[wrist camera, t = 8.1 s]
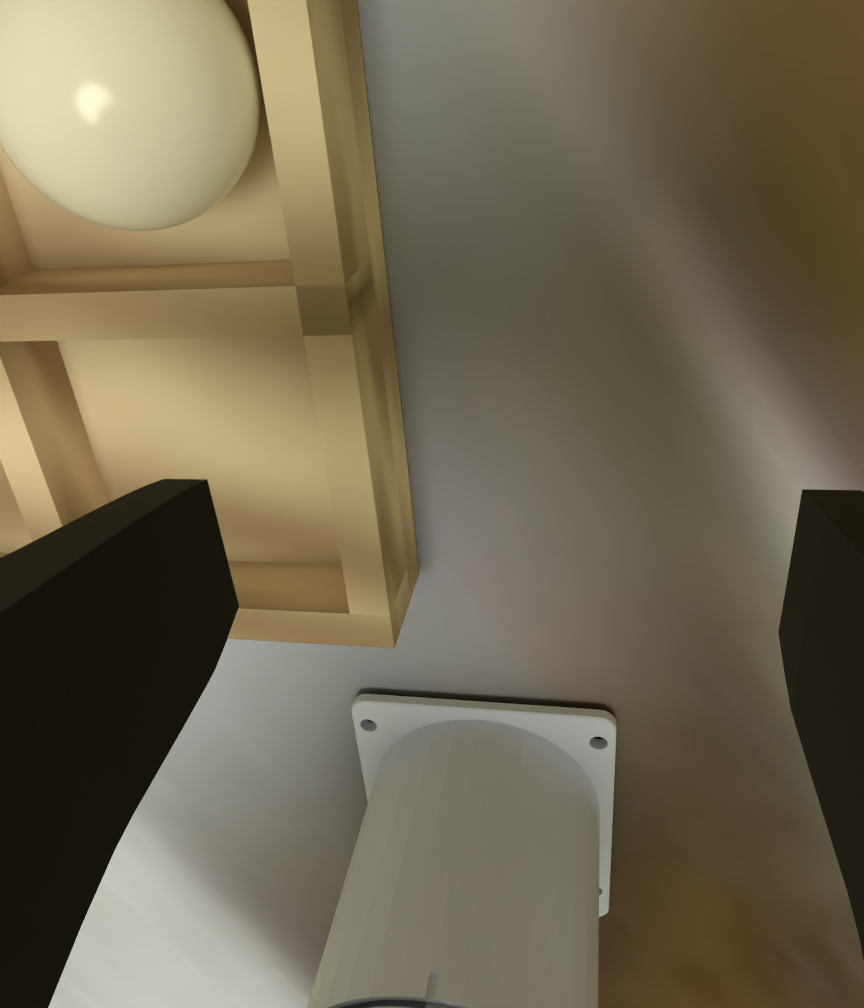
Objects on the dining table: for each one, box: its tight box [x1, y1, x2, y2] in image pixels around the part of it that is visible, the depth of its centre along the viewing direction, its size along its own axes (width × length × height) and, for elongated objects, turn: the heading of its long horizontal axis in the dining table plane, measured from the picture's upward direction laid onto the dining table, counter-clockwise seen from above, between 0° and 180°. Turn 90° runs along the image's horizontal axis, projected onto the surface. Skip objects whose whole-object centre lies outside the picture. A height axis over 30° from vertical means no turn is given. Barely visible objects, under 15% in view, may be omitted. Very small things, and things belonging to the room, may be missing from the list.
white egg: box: [0, 0, 261, 231], centre depth 14 cm, size 5×5×5 cm
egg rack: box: [0, 0, 419, 648], centre depth 19 cm, size 17×17×3 cm
